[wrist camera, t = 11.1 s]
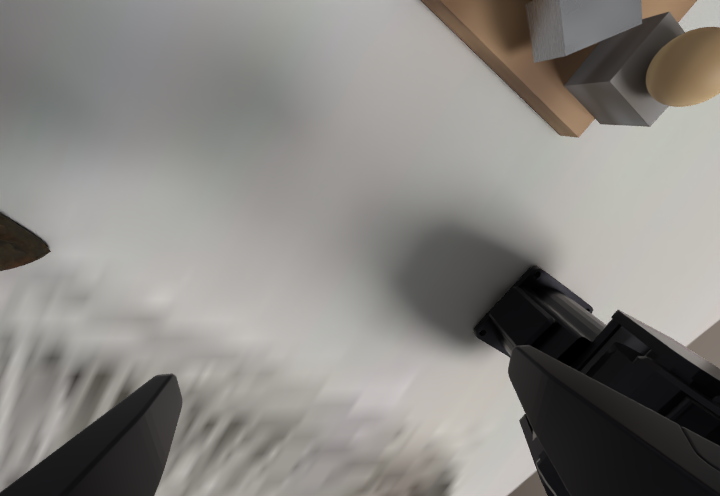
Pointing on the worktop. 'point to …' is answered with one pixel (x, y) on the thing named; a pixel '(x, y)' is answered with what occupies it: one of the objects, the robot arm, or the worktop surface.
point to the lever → (577, 24)
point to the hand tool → (18, 245)
